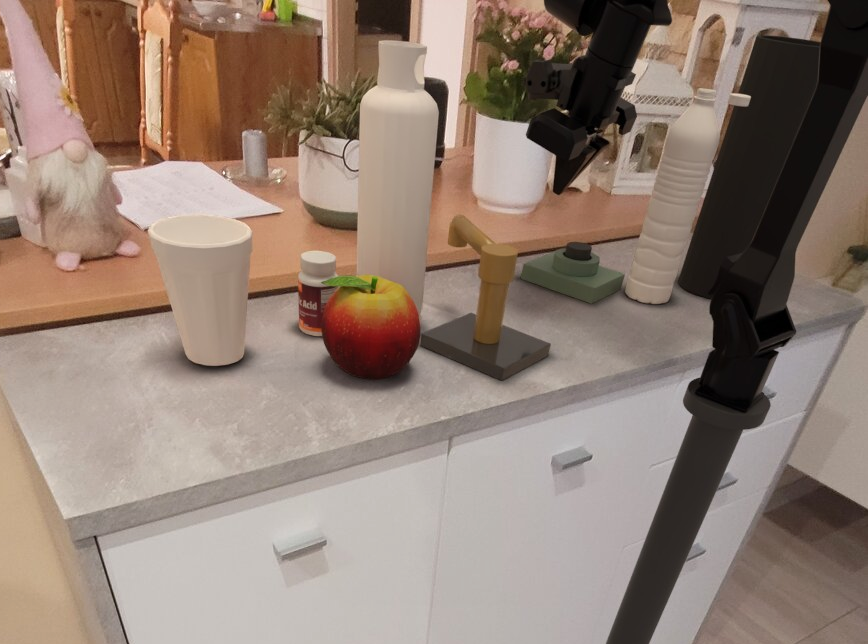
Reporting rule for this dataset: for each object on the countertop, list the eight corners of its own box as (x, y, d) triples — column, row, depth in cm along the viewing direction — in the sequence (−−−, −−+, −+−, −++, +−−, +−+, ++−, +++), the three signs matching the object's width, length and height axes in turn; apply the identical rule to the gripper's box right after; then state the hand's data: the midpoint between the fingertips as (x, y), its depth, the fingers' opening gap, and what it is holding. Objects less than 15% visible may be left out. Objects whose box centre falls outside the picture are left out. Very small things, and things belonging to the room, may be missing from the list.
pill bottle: (291, 326, 87) (288, 253, 81) (321, 318, 89) (321, 246, 84) (315, 340, 84) (314, 266, 79) (346, 331, 87) (347, 258, 81)
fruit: (426, 389, 78) (435, 295, 71) (326, 391, 76) (325, 294, 69) (407, 346, 85) (414, 258, 78) (316, 347, 83) (314, 256, 76)
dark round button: (593, 259, 104) (596, 246, 102) (581, 264, 101) (584, 251, 100) (572, 252, 105) (574, 239, 104) (559, 257, 103) (562, 244, 102)
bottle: (407, 346, 85) (429, 53, 66) (345, 332, 87) (348, 41, 68) (429, 322, 91) (454, 46, 72) (369, 309, 93) (379, 35, 73)
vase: (671, 273, 113) (746, 32, 93) (734, 279, 113) (823, 41, 93) (686, 297, 106) (771, 41, 85) (754, 304, 106) (855, 50, 85)
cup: (280, 354, 81) (273, 229, 72) (219, 386, 74) (203, 253, 66) (212, 330, 84) (198, 207, 75) (148, 358, 78) (124, 228, 69)
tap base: (548, 355, 87) (563, 284, 81) (501, 380, 81) (514, 305, 75) (469, 324, 92) (478, 254, 86) (420, 345, 86) (426, 272, 80)
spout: (518, 287, 80) (523, 255, 78) (485, 288, 79) (489, 256, 77) (468, 241, 91) (472, 211, 88) (439, 241, 89) (441, 211, 87)
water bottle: (616, 294, 104) (671, 85, 87) (637, 284, 108) (695, 82, 91) (670, 313, 100) (739, 98, 83) (690, 302, 104) (760, 95, 87)
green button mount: (621, 289, 106) (628, 260, 103) (591, 304, 100) (598, 274, 98) (552, 266, 111) (558, 238, 108) (520, 279, 106) (525, 250, 103)
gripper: (589, 16, 89) (541, 149, 101) (513, 32, 78) (470, 179, 90) (664, 57, 87) (606, 188, 99) (597, 80, 76) (541, 223, 88)
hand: (556, 193), depth 94 cm, fingers closed
